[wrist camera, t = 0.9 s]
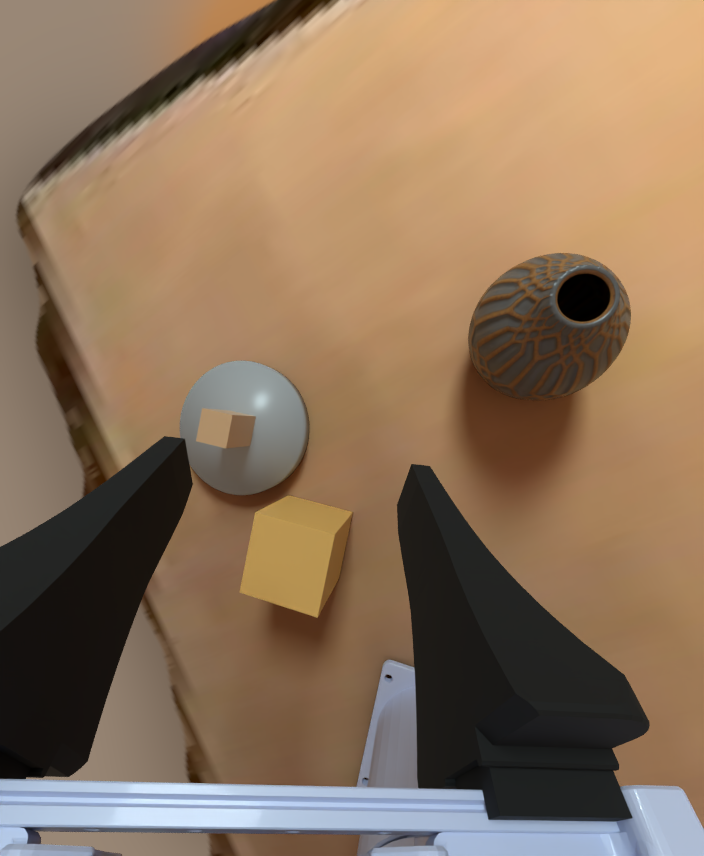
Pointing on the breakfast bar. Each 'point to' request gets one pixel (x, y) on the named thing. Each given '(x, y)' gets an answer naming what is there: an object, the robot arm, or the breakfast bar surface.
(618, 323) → the vase
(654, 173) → the breakfast bar surface
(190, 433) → the grey disc
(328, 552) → the mustard yellow cube
